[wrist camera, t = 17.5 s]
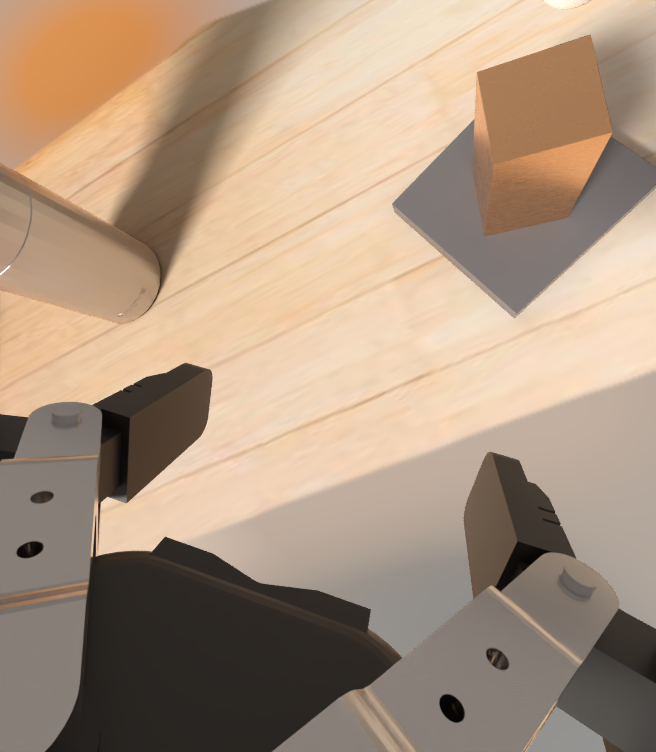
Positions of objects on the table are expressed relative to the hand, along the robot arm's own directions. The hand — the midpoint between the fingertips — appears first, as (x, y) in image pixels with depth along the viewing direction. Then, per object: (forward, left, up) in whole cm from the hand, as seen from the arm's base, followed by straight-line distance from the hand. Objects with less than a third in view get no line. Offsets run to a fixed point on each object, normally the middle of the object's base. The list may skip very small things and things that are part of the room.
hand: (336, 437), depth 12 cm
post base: (-8, +19, -24) cm, 32 cm away
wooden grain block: (-8, +19, -23) cm, 31 cm away
